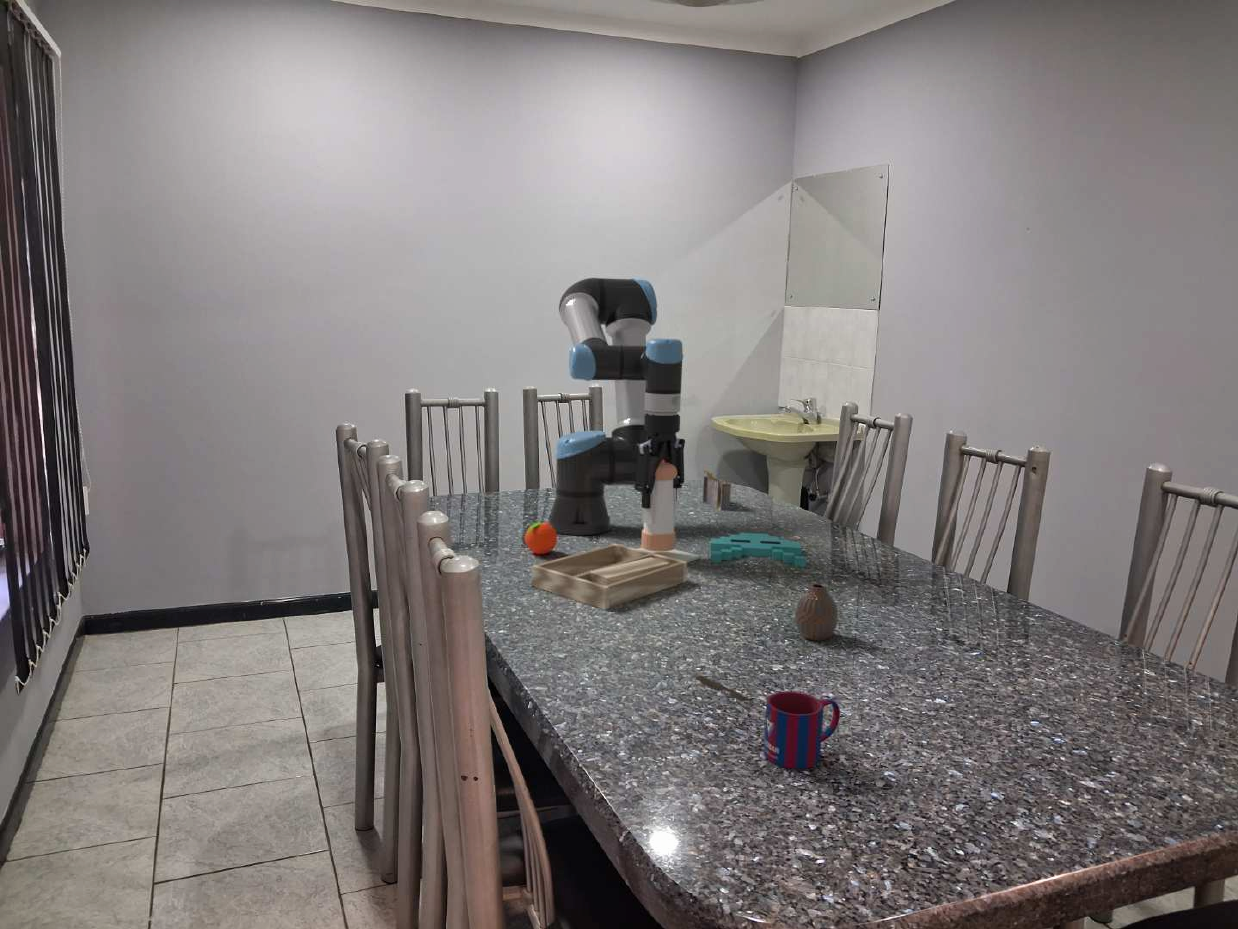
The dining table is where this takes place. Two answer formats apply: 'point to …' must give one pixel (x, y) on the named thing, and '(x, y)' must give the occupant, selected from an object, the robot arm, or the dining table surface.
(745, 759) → the dining table surface
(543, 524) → the clementine
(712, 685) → the thin brown sliver
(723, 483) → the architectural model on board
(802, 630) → the vase
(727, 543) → the alien figure
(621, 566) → the upper offcut
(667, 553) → the mat
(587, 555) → the rack
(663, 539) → the salt shaker
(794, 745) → the mug
